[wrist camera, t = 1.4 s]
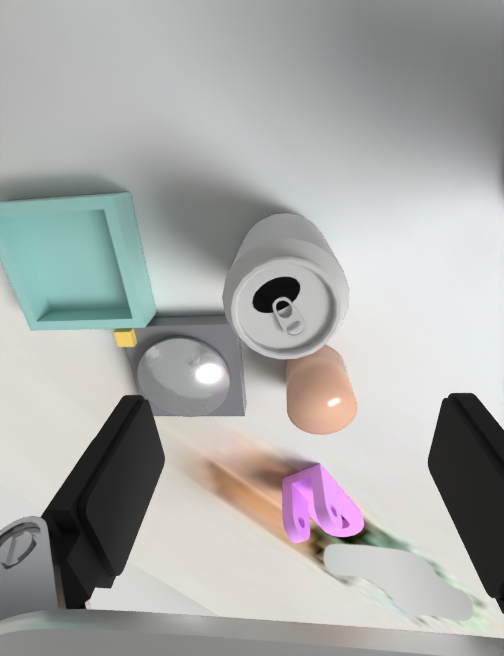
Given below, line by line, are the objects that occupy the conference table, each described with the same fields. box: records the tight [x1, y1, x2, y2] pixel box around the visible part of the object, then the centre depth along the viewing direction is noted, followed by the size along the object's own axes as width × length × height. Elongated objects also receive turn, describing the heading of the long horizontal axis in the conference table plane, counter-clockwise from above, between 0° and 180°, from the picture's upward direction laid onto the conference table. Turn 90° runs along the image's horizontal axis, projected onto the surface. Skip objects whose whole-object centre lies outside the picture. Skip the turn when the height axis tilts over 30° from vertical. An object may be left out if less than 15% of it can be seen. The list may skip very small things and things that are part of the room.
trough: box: [0, 192, 157, 331], centre depth 28 cm, size 11×11×3 cm
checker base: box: [114, 315, 246, 416], centre depth 33 cm, size 11×11×3 cm
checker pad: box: [137, 335, 231, 417], centre depth 32 cm, size 9×9×1 cm
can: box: [222, 213, 349, 359], centre depth 23 cm, size 8×8×12 cm
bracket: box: [282, 464, 364, 543], centre depth 40 cm, size 13×6×7 cm, turn 36°
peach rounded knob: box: [286, 346, 357, 435], centre depth 31 cm, size 6×6×6 cm
